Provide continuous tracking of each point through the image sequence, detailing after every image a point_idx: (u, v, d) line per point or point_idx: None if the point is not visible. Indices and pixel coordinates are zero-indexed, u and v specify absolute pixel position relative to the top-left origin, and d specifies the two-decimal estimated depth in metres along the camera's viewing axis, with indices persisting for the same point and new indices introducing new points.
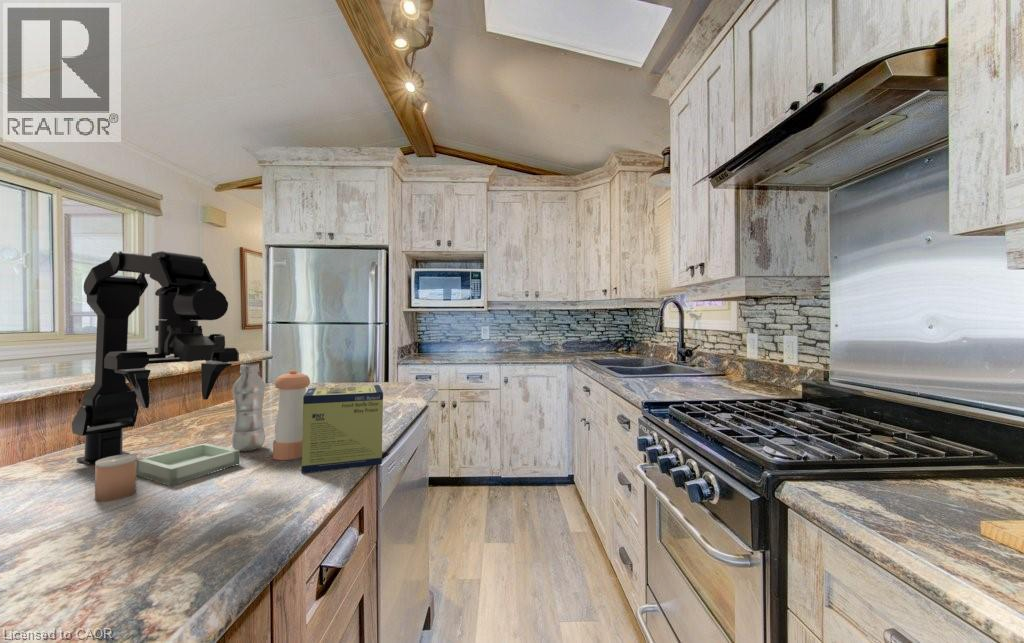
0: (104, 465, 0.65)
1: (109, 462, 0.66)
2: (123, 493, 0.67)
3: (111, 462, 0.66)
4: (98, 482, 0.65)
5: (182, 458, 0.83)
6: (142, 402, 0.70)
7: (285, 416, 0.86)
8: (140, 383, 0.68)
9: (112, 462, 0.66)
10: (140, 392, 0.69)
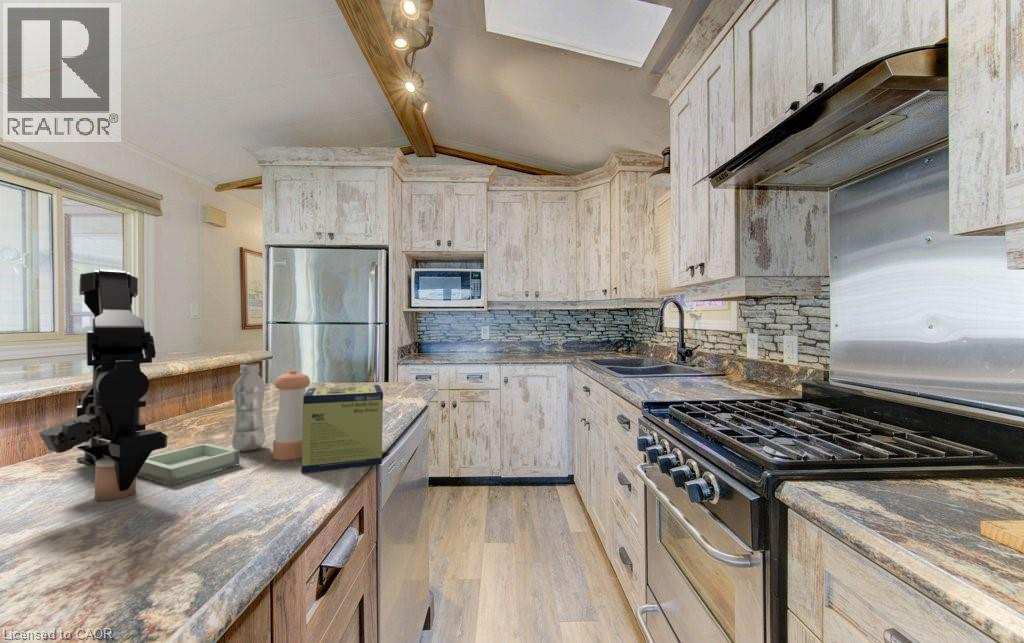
0: (104, 465, 0.65)
1: (109, 462, 0.66)
2: (123, 493, 0.67)
3: (111, 462, 0.66)
4: (98, 482, 0.65)
5: (182, 458, 0.83)
6: None
7: (285, 416, 0.86)
8: (94, 459, 0.68)
9: (112, 462, 0.66)
10: None
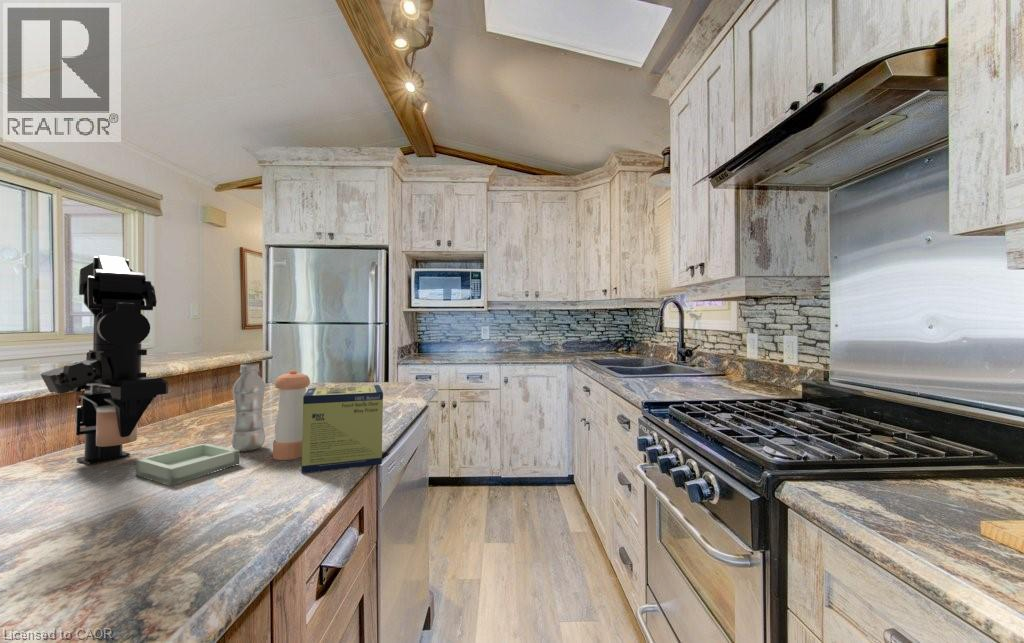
0: (105, 410, 0.66)
1: (110, 408, 0.66)
2: (124, 439, 0.67)
3: (112, 408, 0.66)
4: (99, 427, 0.65)
5: (182, 458, 0.83)
6: None
7: (285, 416, 0.86)
8: (95, 407, 0.68)
9: (113, 408, 0.66)
10: None
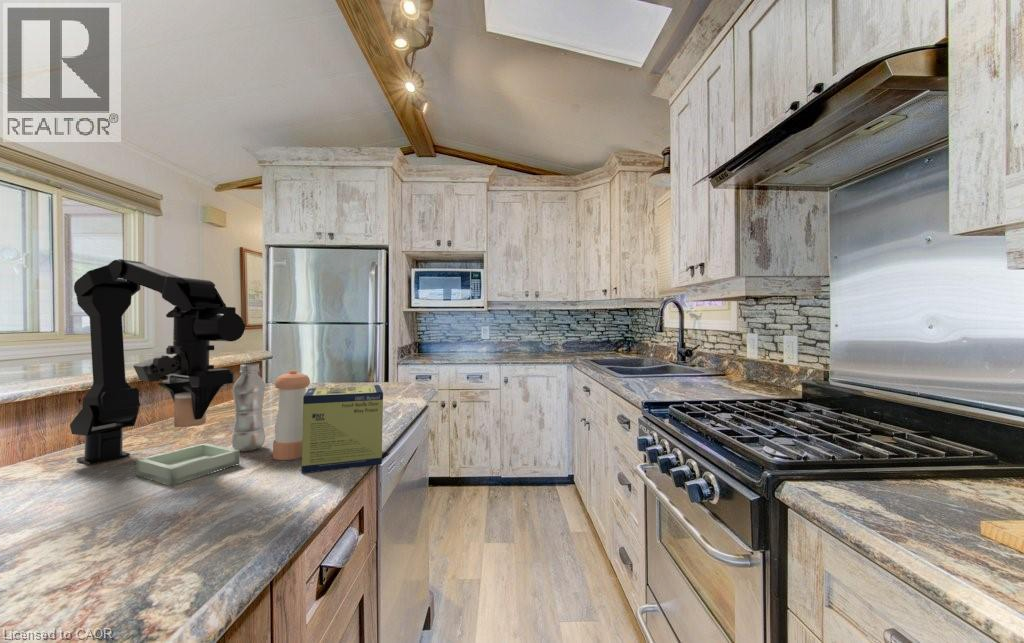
0: (182, 396, 0.77)
1: (186, 394, 0.78)
2: (197, 421, 0.79)
3: (188, 394, 0.78)
4: (177, 411, 0.77)
5: (182, 458, 0.83)
6: None
7: (285, 416, 0.86)
8: (171, 394, 0.80)
9: (189, 394, 0.78)
10: None
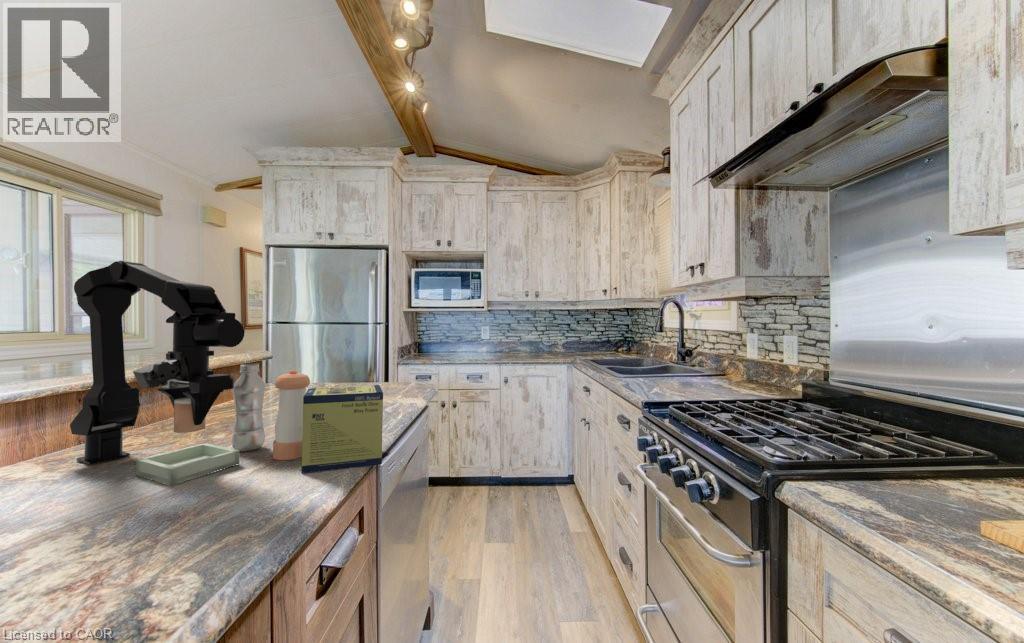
0: (182, 402, 0.77)
1: (186, 400, 0.78)
2: (197, 427, 0.79)
3: (187, 400, 0.78)
4: (177, 416, 0.77)
5: (182, 458, 0.83)
6: None
7: (285, 416, 0.86)
8: (171, 400, 0.80)
9: (188, 400, 0.78)
10: None
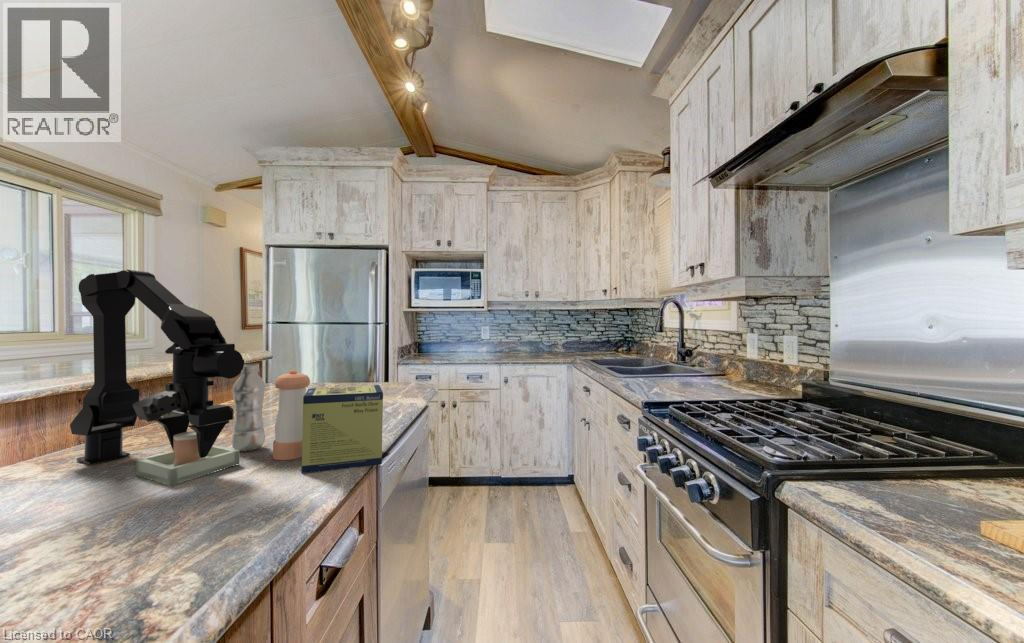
0: (181, 438, 0.77)
1: (185, 436, 0.78)
2: None
3: (187, 436, 0.78)
4: (176, 453, 0.77)
5: None
6: None
7: (285, 416, 0.86)
8: (165, 429, 0.81)
9: (187, 436, 0.78)
10: None
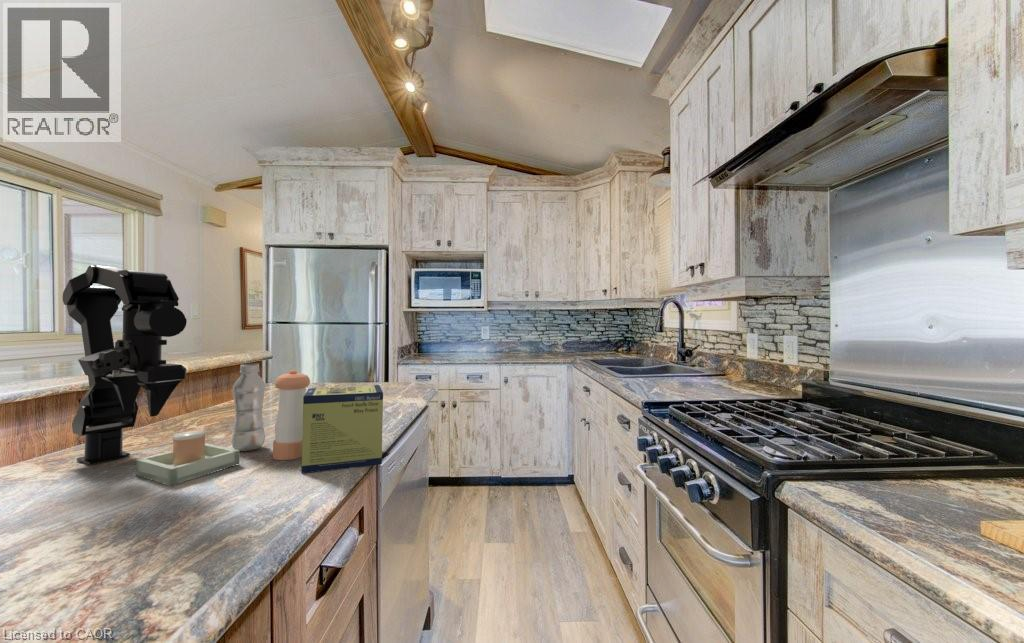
0: (181, 438, 0.77)
1: (184, 436, 0.78)
2: None
3: (186, 436, 0.78)
4: (176, 453, 0.77)
5: None
6: None
7: (285, 416, 0.86)
8: (115, 388, 0.79)
9: (187, 436, 0.78)
10: None
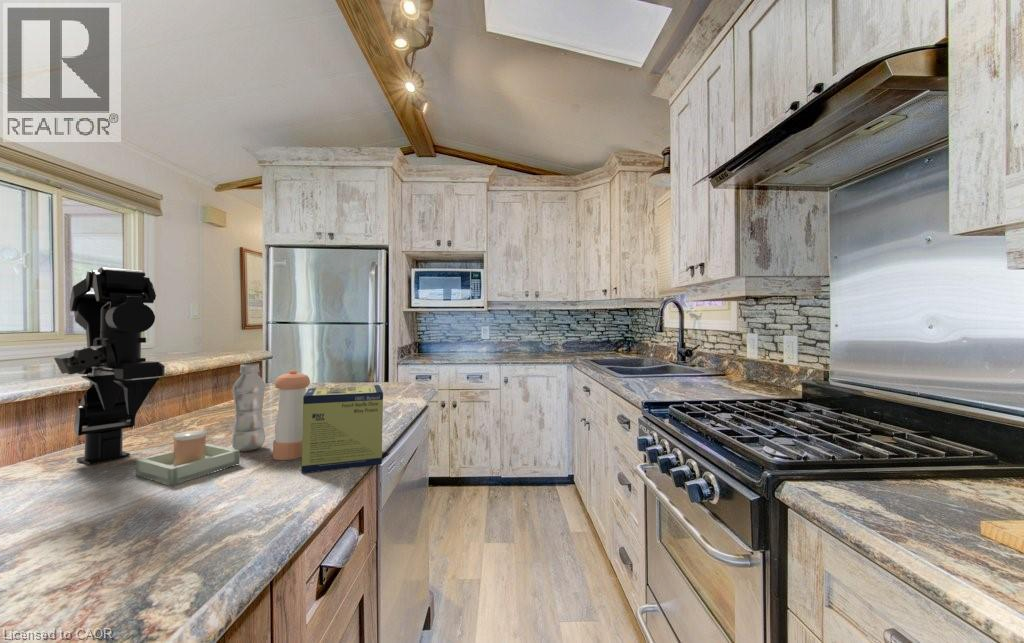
0: (181, 438, 0.77)
1: (185, 436, 0.78)
2: None
3: (187, 436, 0.78)
4: (176, 453, 0.77)
5: None
6: None
7: (285, 416, 0.86)
8: (95, 387, 0.79)
9: (187, 436, 0.78)
10: None
